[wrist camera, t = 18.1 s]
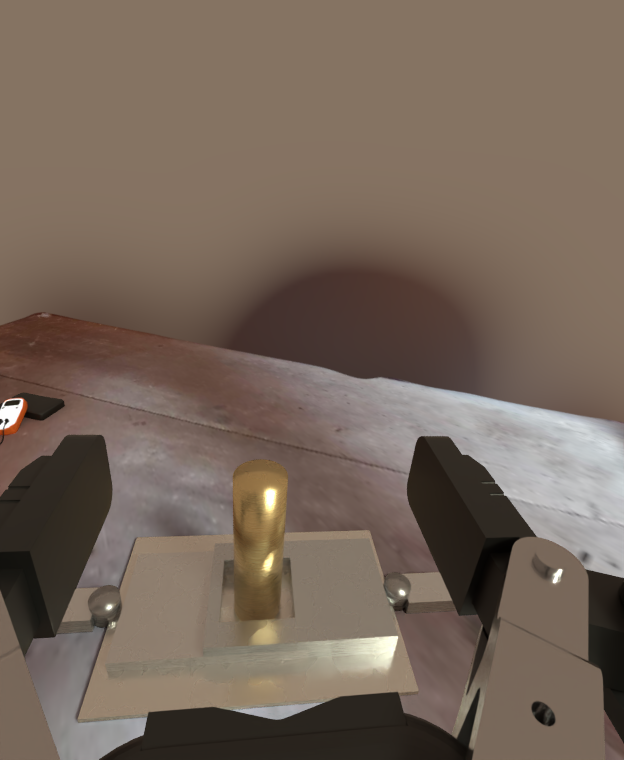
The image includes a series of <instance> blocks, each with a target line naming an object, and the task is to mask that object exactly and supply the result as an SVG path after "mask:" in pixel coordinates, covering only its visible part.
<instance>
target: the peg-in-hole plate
mask: <svg viewBox="0 0 624 760" xmlns="http://www.w3.org/2000/svg"><path fill="white" fill-rule="evenodd" d="M404 608H405V611H406V613H423V612H441V611H455V610H456V608H455V606H454V603H453V601H452V599H451V597H450V594H449V592H448V590H447V588H446V585H445V583H444V581H443V579H442V576H441V574H440V572H434V573H412V574H400V573H390V574H388V575H387V576H386V577H385V579H384V576H383V573H382V570H381V567H380V563H379V560H378V557H377V554H376V550H375V547H374V544H373V541H372V537H371V534H370V531H369V530H364V531H332V532H299V533H285V534H284V551H283V568H282V585H281V602H280V609H279V612H278V614H277V615H276V617H275V618H274V619H269V620H251V621H241V620H240V619H239V618H238V617H237V615H236V613H235V609H234V536H233V535H202V536H170V537H137V539H136V542H135V545H134V548H133V551H132V554H131V557H130V560H129V563H128V566H127V569H126V572H125V575H124V579H123V582H122V585H121V588H120V591H119V589H118V588H117V587H115V586H112V585H107V586H103V587H100V588H79V589H75V591H74V594H73V596H72V598H71V601H70V603H69V605H68V608H67V610H66V612H65V615H64V617H63V619H62V622H61V624H60V626H59V629H58V631H57V633H56V634H60V633H77V632H93V629H94V626H96V627H100V628H104V627H107V631H106V634H105V637H104V640H103V643H102V646H101V649H100V652H99V655H98V658H97V661H96V664H95V667H94V670H93V673H92V676H91V679H90V683H89V686H88V689H87V692H86V695H85V698H84V701H83V704H82V707H81V710H80V713H79V716H78V719H77V720H78V723H80V722H92V721H104V720H116V719H128V718H140V717H148V712H155V711H167V710H179V709H191V708H204V707H217V708H222V709H226V710H235V709H247V708H259V707H271V706H283V705H295V704H307V703H319V702H327V701H330V700H332V699H335V698H337V697H340V696H351V695H363V694H375V693H387V692H398V693H399V696H402V695H414V694H418V692H419V691H418V687H417V684H416V681H415V678H414V674H413V671H412V668H411V664H410V661H409V658H408V655H407V651H406V648H405V645H404V642H403V638H402V635H401V632H400V629H399V625H398V622H397V619H396V616H395V612H394V611H400V610H403V609H404Z"/></svg>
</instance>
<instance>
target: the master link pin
mask: <svg viewBox="0 0 624 760" xmlns="http://www.w3.org/2000/svg"><path fill="white" fill-rule="evenodd" d="M287 484H288V474H287V471H286V470H285V468H284V467H283V466H281V465H280V464H278V463H276V462H274V461H270V460H262V459H260V460H252V461H248V462H245V463H243V464H241V465H240V466H239V467H238V468H237V469H236V470H235V471H234V474H233V536H234V609H235V613H236V615H237V617H238V618H239V619H240V620H241V621H251V620H269V619H274V618H275V617H276V615H277V614H278V612H279V609H280V602H281V585H282V568H283V551H284V534H285V517H286V500H287Z"/></svg>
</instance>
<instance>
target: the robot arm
mask: <svg viewBox="0 0 624 760" xmlns="http://www.w3.org/2000/svg"><path fill="white" fill-rule="evenodd" d="M8 487H9V488H8V490H5V491H4V493H3V494H2V495H1V497H0V760H60V758H59V755H58V752H57V749H56V747H55V744H54V741H53V738H52V735H51V732H50V730H49V727H48V724H47V721H46V718H45V715H44V713H43V710H42V707H41V704H40V701H39V698H38V696H37V693H36V690H35V687H34V684H33V682H32V679H31V676H30V673H29V670H28V667H27V665H26V662H25V659H24V657H25V654H26V652H27V650H28V648H29V646H30V644H31V642H32V640H33V638H50V637H55V636H56V633H57V631H58V629H59V626H60V624H61V622H62V619H63V617H64V615H65V612H66V610H67V608H68V605H69V603H70V601H71V598H72V596H73V594H74V591H75V589H76V587H77V584H78V582H79V580H80V577H81V575H82V573H83V570H84V568H85V566H86V563H87V561H88V559H89V556H90V554H91V552H92V549H93V547H94V545H95V542H96V540H97V538H98V535H99V533H100V531H101V528H102V526H103V524H104V521H105V519H106V517H107V514H108V512H109V509H110V506H111V500H112V481H111V475H110V468H109V462H108V456H107V450H106V444H105V440H104V437H103V436H102V435H67V436H66V437H65V438H64V439H63V440H62V442H61V443H60V445H59V446H58V448H57V449H56V450H55V452H54V453H53V455H52V456H41V457H39V458H38V459H36V460H35V461H33V462H32V463H30V464H29V465H27V466H26V467H25V468H23V469H22V470H21V471H20V472H19V473H18V475H17V476H16V477H15V478H14V480H13V481H12V482H11V484H10V485H9V486H8ZM407 496H408V501H409V505H410V507H411V509H412V512H413V514H414V516H415V518H416V521H417V523H418V525H419V527H420V530H421V532H422V534H423V536H424V538H425V541H426V543H427V545H428V547H429V550H430V552H431V554H432V556H433V559H434V561H435V563H436V565H437V568H438V570H439V572H440V574H441V576H442V579H443V581H444V583H445V585H446V588H447V590H448V592H449V594H450V597H451V599H452V601H453V603H454V606H455V608H456V610H457V612H458V614H459V616H462V615H478V616H479V618H480V620H481V622H482V627H481V629H480V632H479V635H478V639H477V643H476V647H475V651H474V655H473V659H472V663H471V667H470V671H469V675H468V679H467V683H466V687H465V691H464V695H463V699H462V703H461V706H460V710H459V713H458V717H457V720H456V723H455V726H454V729H453V732H452V735H450V734H449V733H447V732H446V731H444V730H443V729H441V728H440V727H438V726H436V725H434V724H432V723H430V722H428V721H426V720H424V719H421V718H419V717H416V716H413V715H410V714H406V713H404V712H403V708H402V705H401V701H400V697H399V693H398V692H387V693H375V694H363V695H351V696H340V697H337V698H335V699H332V700H330V701H327V702H325V703H322V704H320V705H317V706H315V707H312V708H310V709H307V710H305V711H302V712H300V713H297V714H295V715H292V716H290V717H287V718H285V719H281V720H273V719H268V718H263V717H259V716H254V715H249V714H245V713H240V712H236V711H231V710H226V709H222V708H217V707H204V708H191V709H179V710H167V711H155V712H148V717H147V722H146V727H145V732H144V735H143V736H140V737H138V738H135V739H133V740H131V741H129V742H127V743H125V744H123V745H121V746H119V747H117V748H116V749H114V750H113V751H111V752H110V753H108V754H107V755H105V756H104V757H102V758H100V759H99V760H605V739H604V710H605V712H606V714H607V715H608V717H609V719H610V720H611V722H612V724H613V726H614V727H615V729H616V731H617V732H618V734H619V736H620V738H621V739H622V741H623V743H624V578H620V577H616V576H612V575H607V574H603V573H599V572H594V571H590V570H586V569H585V568H584V566H583V565H582V564H581V562H580V561H579V560H578V559H577V558H576V557H575V556H574V555H573V554H572V553H571V552H569V551H568V550H566V549H565V548H563V547H562V546H560V545H558V544H556V543H554V542H552V541H549V540H546V539H543V538H538V537H537V536H536V535H535V534H534V532H533V531H532V530H531V528H530V527H529V526H528V524H527V523H526V522H525V520H524V519H523V518H522V516H521V515H520V514H519V512H518V511H517V510H516V508H515V507H514V506H513V504H512V503H511V502H510V500H509V499H508V498H507V496H504V492H503V491H502V490H501V488H500V487H499V486H498V484H495V480H494V479H493V478H492V476H491V475H490V474H489V472H488V471H487V470H486V468H485V467H484V466H482V465H481V464H480V463H478V462H477V461H476V460H474V459H473V458H472V457H470V456H469V455H462V454H461V452H460V451H459V450H458V448H457V447H456V445H455V444H454V443H453V441H452V440H451V439H450V438H449V437H447V436H421V437H419V438H418V440H417V442H416V446H415V451H414V455H413V460H412V464H411V469H410V473H409V478H408V483H407Z"/></svg>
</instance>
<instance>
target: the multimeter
mask: <svg viewBox="0 0 624 760" xmlns="http://www.w3.org/2000/svg"><path fill="white" fill-rule="evenodd" d="M64 406H65V405H64V401H63V400H62V399H56V398H50V397H44V396H38V395H33V394H29V393H20V394H18V395H16V396H14V397H12V398H11V399H7V400H5V401H4V402H3V403H1V404H0V435H3V439H4V435H8V434H13V433H16V432H17V431H18V429H19V427H20V424H21V422H22V420H23V418H24V417H26V418H31V419H35V420H44V419H46V418H47V417H49V416H50V415H52V414H54V413H55V412H57V411H58V410H60V409H61V408H63V407H64ZM3 439H2V442H3ZM2 442H1V443H2ZM1 443H0V444H1Z"/></svg>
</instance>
